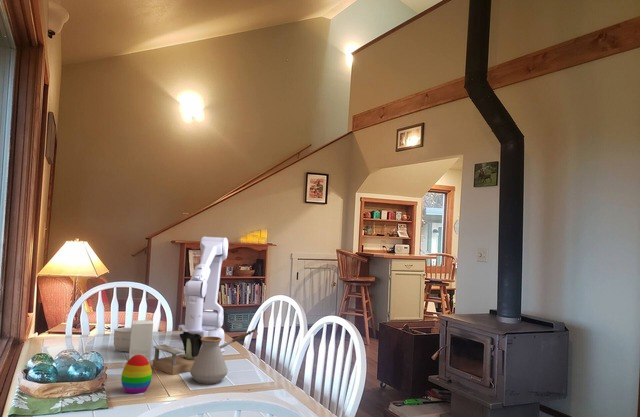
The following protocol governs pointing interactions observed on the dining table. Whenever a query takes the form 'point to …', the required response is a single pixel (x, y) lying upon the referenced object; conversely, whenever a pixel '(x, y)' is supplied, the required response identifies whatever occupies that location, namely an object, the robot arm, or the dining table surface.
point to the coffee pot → (212, 360)
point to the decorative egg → (136, 374)
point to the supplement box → (141, 338)
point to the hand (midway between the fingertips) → (191, 355)
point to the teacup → (122, 338)
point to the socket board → (172, 360)
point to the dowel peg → (189, 351)
